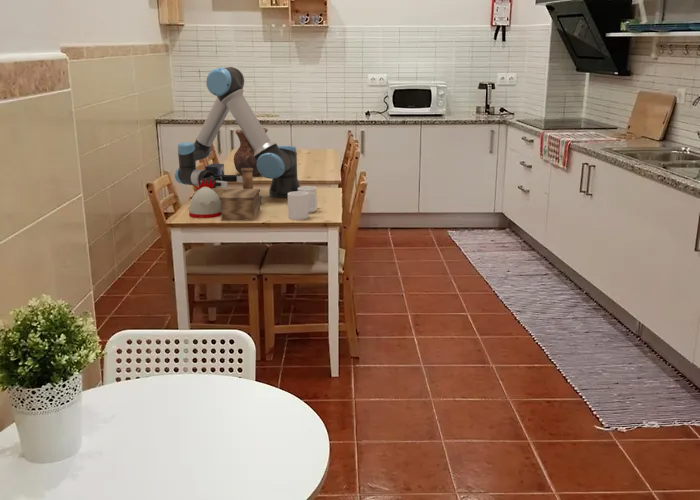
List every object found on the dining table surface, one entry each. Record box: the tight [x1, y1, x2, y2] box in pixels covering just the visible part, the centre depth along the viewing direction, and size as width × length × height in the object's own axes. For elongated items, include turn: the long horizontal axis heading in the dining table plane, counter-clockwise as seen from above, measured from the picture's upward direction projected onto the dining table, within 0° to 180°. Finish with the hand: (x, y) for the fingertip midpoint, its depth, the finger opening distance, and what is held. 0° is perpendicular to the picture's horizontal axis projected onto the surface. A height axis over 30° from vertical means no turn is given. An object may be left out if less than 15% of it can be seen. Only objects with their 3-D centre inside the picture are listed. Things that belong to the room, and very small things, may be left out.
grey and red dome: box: [188, 179, 222, 219], centre depth 288 cm, size 14×14×15 cm
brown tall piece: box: [241, 168, 254, 189], centre depth 305 cm, size 5×5×16 cm
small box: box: [204, 163, 225, 188], centre depth 352 cm, size 11×6×10 cm, turn 168°
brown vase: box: [233, 127, 268, 177], centre depth 379 cm, size 22×21×25 cm
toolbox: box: [219, 188, 262, 221], centre depth 294 cm, size 14×33×9 cm, turn 179°
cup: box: [287, 191, 318, 221], centre depth 282 cm, size 8×12×10 cm
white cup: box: [298, 185, 317, 214], centre depth 292 cm, size 8×8×10 cm
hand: (237, 182), depth 307 cm, fingers open, 13 cm apart
